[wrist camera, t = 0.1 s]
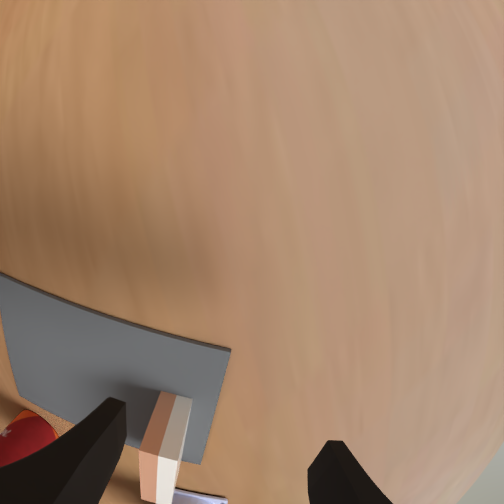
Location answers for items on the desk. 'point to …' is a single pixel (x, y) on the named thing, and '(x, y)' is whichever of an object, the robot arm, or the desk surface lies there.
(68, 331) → the mat
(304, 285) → the desk surface
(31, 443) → the paper cup
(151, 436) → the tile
